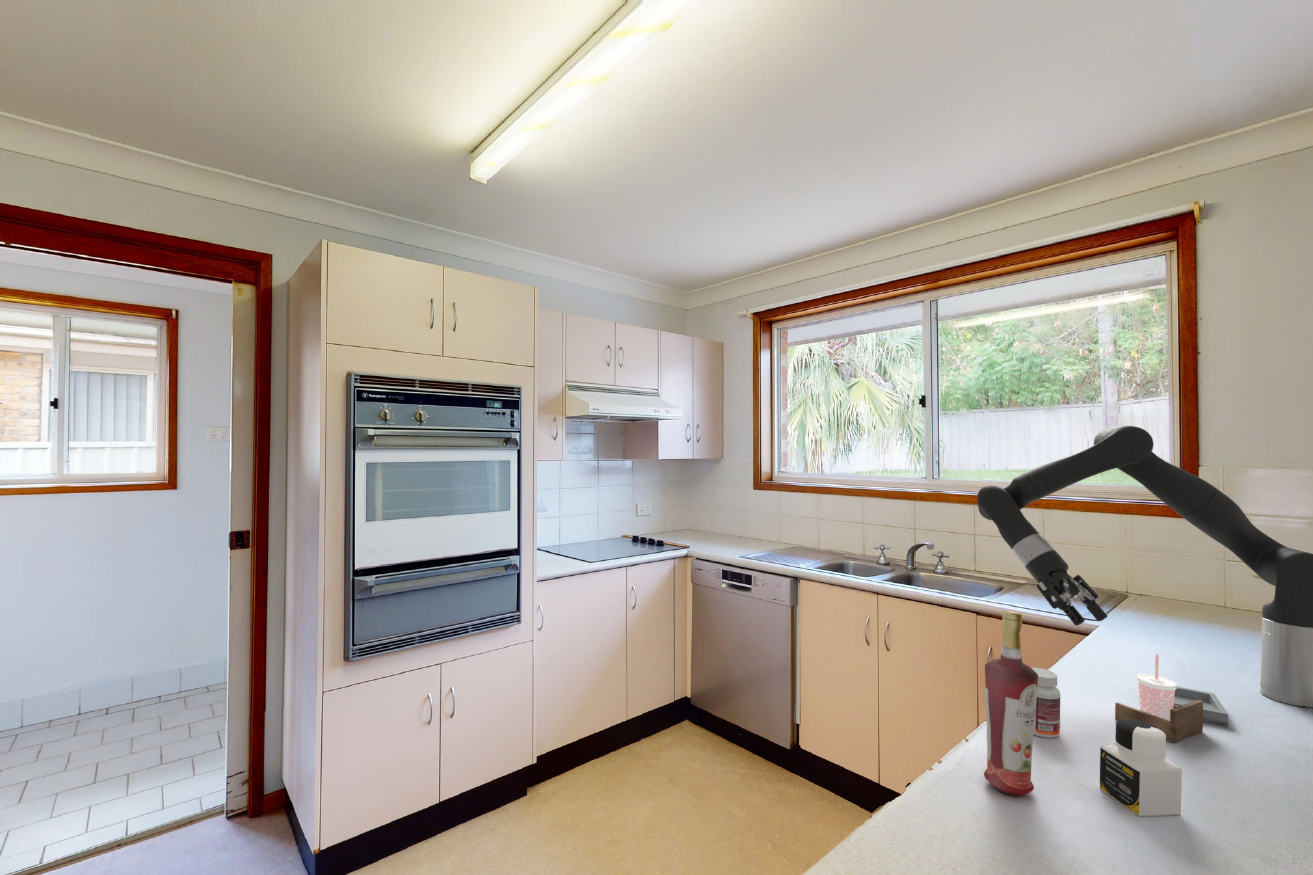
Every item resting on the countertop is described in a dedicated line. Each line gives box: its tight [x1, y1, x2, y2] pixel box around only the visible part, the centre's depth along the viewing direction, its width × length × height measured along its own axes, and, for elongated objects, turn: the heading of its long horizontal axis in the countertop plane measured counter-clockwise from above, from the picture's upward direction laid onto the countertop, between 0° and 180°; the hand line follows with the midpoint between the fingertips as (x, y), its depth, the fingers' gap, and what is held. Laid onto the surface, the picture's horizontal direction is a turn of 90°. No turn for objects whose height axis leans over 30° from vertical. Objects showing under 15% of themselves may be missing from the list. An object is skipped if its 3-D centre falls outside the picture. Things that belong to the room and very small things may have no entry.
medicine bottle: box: [1099, 719, 1183, 817], centre depth 92 cm, size 7×7×12 cm
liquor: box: [983, 610, 1038, 798], centre depth 94 cm, size 7×7×28 cm
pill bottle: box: [1031, 667, 1061, 739], centre depth 114 cm, size 6×6×11 cm
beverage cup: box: [1136, 654, 1178, 721], centre depth 117 cm, size 6×6×14 cm
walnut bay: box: [1114, 700, 1204, 744], centre depth 117 cm, size 10×11×6 cm
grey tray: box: [1174, 686, 1229, 728], centre depth 126 cm, size 12×12×2 cm
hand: (1092, 621), depth 128 cm, fingers open, 8 cm apart
